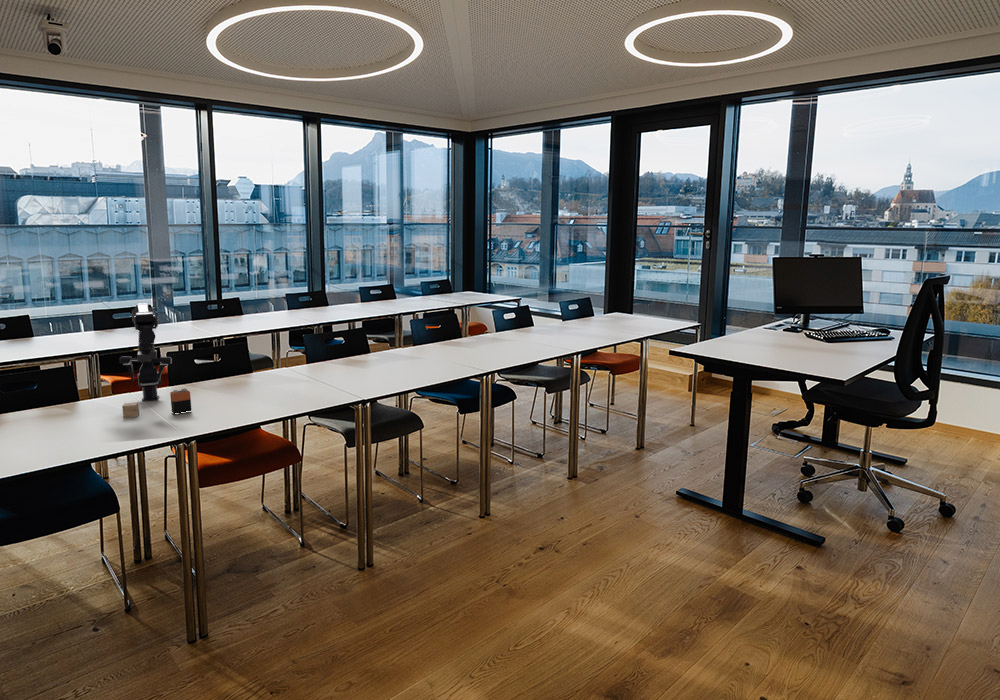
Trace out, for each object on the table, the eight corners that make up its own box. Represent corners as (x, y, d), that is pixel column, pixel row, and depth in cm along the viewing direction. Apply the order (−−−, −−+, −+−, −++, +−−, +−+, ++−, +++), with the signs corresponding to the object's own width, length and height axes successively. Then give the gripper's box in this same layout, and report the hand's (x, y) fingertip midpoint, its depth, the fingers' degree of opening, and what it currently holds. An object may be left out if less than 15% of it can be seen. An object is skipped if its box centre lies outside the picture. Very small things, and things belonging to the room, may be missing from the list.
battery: (192, 412, 284) (190, 389, 282) (174, 415, 280) (172, 391, 278) (188, 410, 288) (186, 387, 286) (171, 413, 283) (169, 389, 281)
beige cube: (125, 414, 280) (124, 403, 279) (139, 413, 282) (138, 402, 281) (123, 417, 276) (122, 406, 275) (137, 416, 277) (136, 405, 276)
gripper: (117, 343, 268) (117, 382, 268) (170, 344, 275) (169, 382, 275) (121, 342, 278) (120, 380, 278) (172, 343, 285) (171, 380, 285)
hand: (145, 381), depth 279 cm, fingers open, 9 cm apart
